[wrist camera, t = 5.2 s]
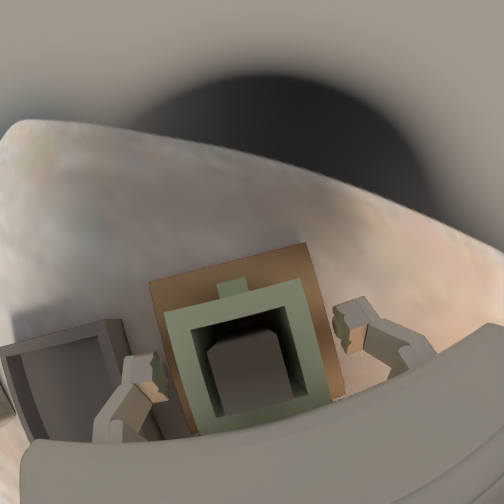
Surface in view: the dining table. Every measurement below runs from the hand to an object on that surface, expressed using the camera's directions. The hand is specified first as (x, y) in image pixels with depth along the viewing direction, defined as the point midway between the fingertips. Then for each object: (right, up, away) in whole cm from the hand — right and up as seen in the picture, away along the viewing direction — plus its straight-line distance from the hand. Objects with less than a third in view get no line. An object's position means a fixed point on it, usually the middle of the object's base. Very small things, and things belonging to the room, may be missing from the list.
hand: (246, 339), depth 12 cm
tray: (-12, -7, +4) cm, 15 cm away
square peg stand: (0, -2, +5) cm, 5 cm away
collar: (0, -2, +4) cm, 4 cm away
